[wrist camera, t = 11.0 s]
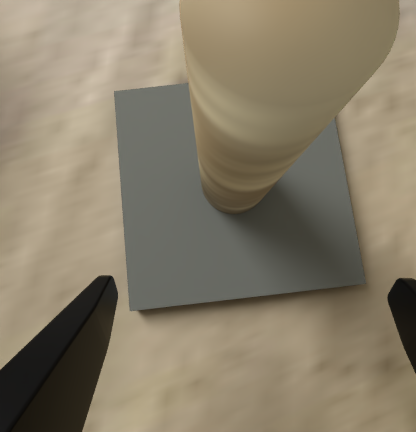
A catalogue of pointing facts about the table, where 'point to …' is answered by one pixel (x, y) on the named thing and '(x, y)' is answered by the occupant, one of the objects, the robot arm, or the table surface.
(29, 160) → the table surface
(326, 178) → the rubber mat
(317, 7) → the birch peg
